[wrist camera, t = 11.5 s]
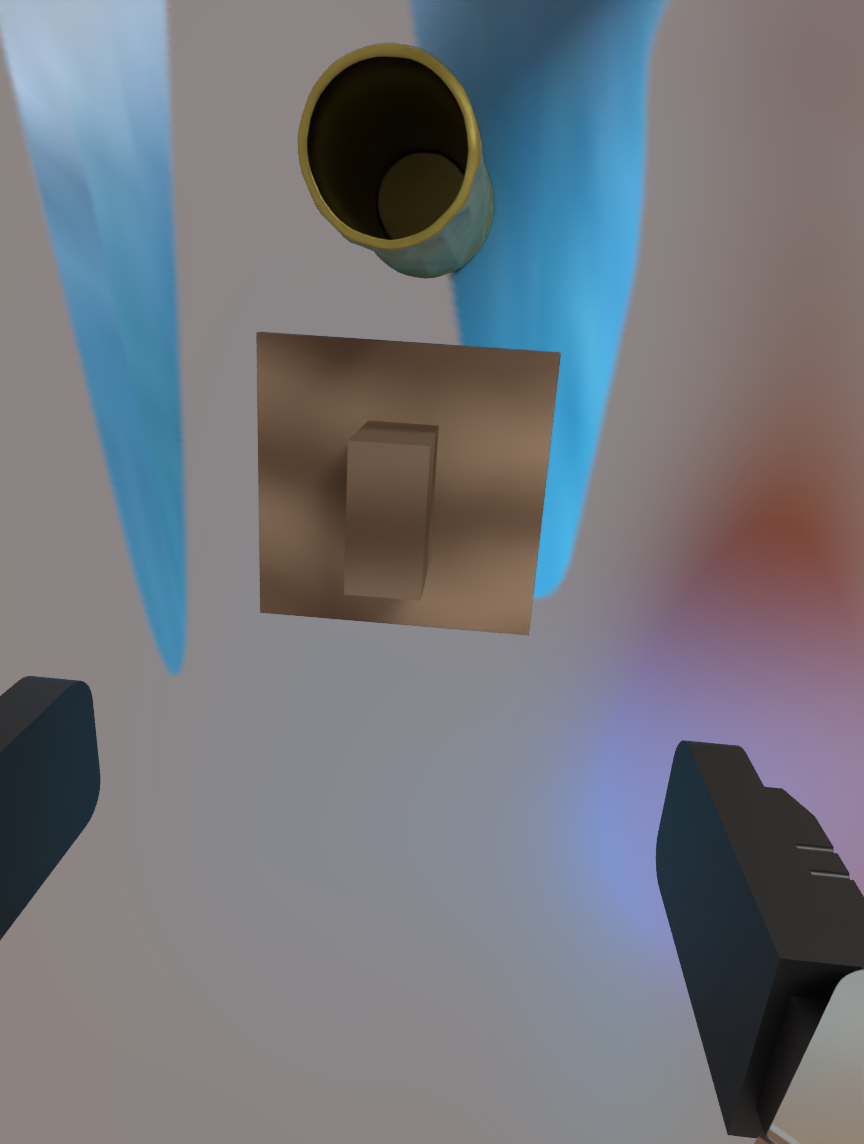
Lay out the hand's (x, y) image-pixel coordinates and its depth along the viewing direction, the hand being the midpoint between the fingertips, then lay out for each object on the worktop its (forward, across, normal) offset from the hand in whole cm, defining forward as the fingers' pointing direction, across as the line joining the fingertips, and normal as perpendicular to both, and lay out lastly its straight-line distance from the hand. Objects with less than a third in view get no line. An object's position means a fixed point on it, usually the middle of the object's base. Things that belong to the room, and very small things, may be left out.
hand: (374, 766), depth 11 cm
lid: (+24, +2, +2) cm, 25 cm away
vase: (+30, +2, -9) cm, 31 cm away
